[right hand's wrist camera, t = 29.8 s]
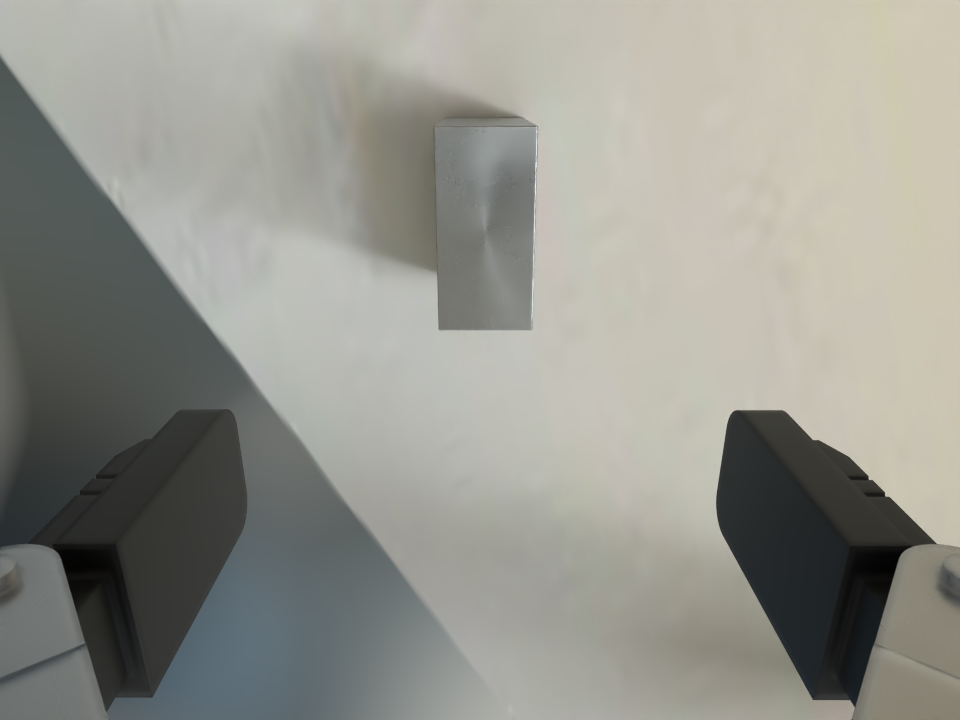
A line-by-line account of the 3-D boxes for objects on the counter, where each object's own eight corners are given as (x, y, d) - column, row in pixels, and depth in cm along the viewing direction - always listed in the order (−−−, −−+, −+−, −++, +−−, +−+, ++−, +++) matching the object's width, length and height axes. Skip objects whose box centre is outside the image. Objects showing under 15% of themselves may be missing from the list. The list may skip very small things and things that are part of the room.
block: (523, 117, 37) (538, 126, 28) (520, 275, 40) (532, 330, 31) (445, 117, 37) (433, 126, 28) (448, 276, 40) (438, 330, 31)
